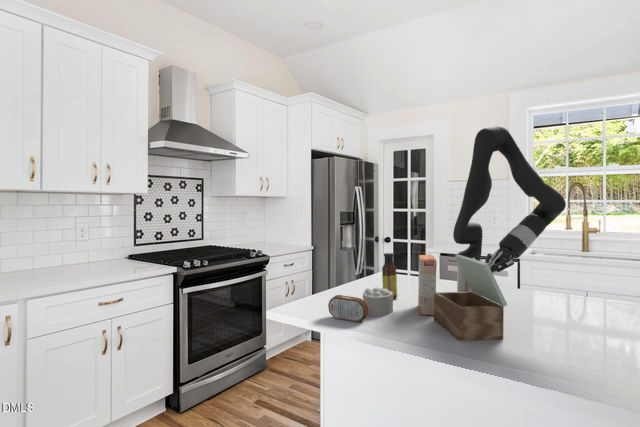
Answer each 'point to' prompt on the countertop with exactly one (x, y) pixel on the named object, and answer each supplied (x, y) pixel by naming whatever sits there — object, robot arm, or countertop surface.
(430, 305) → the cracker box
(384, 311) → the lumpy-topped squat cylinder
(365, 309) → the tin
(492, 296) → the box lid
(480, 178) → the robot arm
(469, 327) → the walnut box
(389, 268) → the sauce bottle
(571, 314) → the countertop surface
